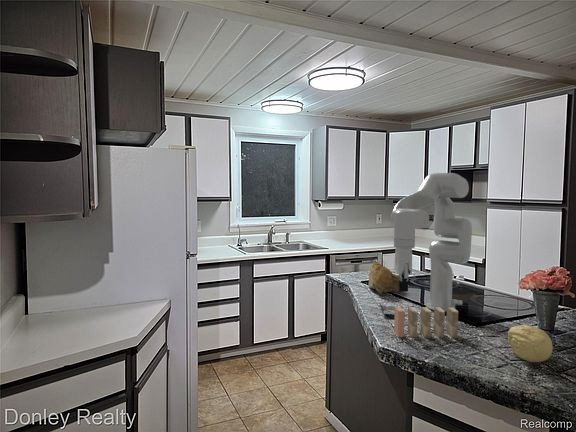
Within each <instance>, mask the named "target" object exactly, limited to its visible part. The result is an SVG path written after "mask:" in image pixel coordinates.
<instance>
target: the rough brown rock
mask: <svg viewBox="0 0 576 432" xmlns="http://www.w3.org/2000/svg"><path fill="white" fill-rule="evenodd" d="M368 288H370V289H373V290H376V292H377V294H381V295H382V294H383V293H389V292H392V293H398V291H399V274H395V273H393V272H392V271H391V270H390V268H387V267H386V266H384V265H383V264H382V263H379V262H376V261H373V262H372V263H371V268H370V272H369V277H368Z"/></svg>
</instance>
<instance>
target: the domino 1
mask: <svg viewBox="0 0 576 432" xmlns="http://www.w3.org/2000/svg"><path fill="white" fill-rule="evenodd" d="M394 307H395V310H394V314H395V318H394V323H393V324H394V326H393V327H394V331H393V332H394V333H395V335H396V337H397V338H404V337H405V310H404V309H403V307H402V306H398V307H397V306H394ZM401 307H402V308H401Z"/></svg>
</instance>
